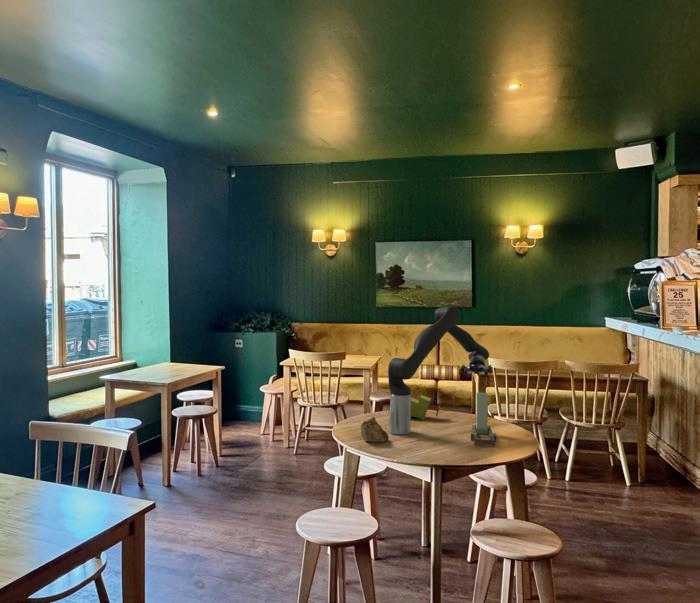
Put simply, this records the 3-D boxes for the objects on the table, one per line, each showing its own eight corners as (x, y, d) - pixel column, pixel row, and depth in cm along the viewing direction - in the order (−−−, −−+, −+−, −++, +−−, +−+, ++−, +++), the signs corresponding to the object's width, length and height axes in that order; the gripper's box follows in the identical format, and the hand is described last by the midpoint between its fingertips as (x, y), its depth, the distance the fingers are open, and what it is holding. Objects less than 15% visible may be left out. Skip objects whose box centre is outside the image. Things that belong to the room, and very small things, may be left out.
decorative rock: (362, 444, 208) (362, 418, 208) (358, 440, 214) (358, 415, 214) (389, 442, 211) (390, 416, 211) (385, 438, 217) (385, 413, 217)
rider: (475, 430, 229) (476, 392, 229) (486, 430, 229) (487, 392, 229) (476, 433, 224) (476, 394, 224) (487, 434, 223) (488, 395, 223)
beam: (469, 430, 231) (469, 424, 231) (492, 432, 229) (492, 426, 229) (471, 445, 208) (471, 438, 207) (497, 447, 205) (497, 440, 205)
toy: (434, 424, 259) (397, 410, 263) (441, 401, 258) (404, 388, 262) (433, 428, 250) (394, 414, 254) (440, 405, 249) (401, 391, 253)
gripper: (462, 357, 251) (459, 365, 235) (492, 356, 247) (491, 365, 231) (463, 371, 252) (460, 381, 236) (492, 371, 248) (492, 381, 232)
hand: (475, 373), depth 234 cm, fingers open, 8 cm apart
